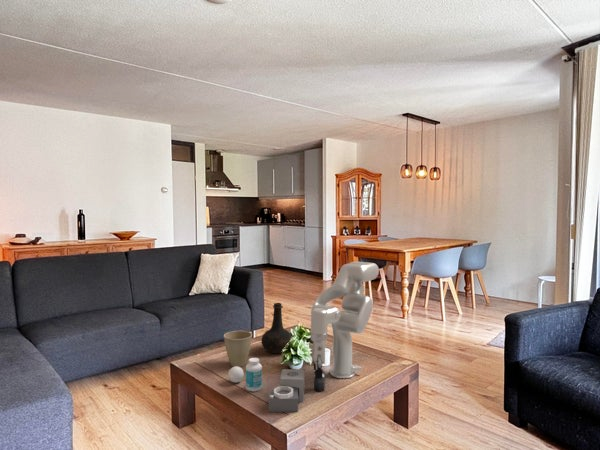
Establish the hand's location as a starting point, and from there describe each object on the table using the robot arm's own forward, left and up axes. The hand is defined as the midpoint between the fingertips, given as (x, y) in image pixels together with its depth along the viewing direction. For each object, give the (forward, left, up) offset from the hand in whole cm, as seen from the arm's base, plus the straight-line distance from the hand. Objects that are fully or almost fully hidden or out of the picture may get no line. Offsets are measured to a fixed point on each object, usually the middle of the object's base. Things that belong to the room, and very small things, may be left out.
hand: (317, 373), depth 176 cm
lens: (-1, -1, -8) cm, 8 cm away
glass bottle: (+20, -50, -8) cm, 54 cm away
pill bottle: (+29, -3, -8) cm, 31 cm away
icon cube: (+12, +5, -8) cm, 15 cm away
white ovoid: (+39, -11, -8) cm, 42 cm away
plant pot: (+40, -31, -8) cm, 51 cm away
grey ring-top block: (+15, +14, -8) cm, 22 cm away
